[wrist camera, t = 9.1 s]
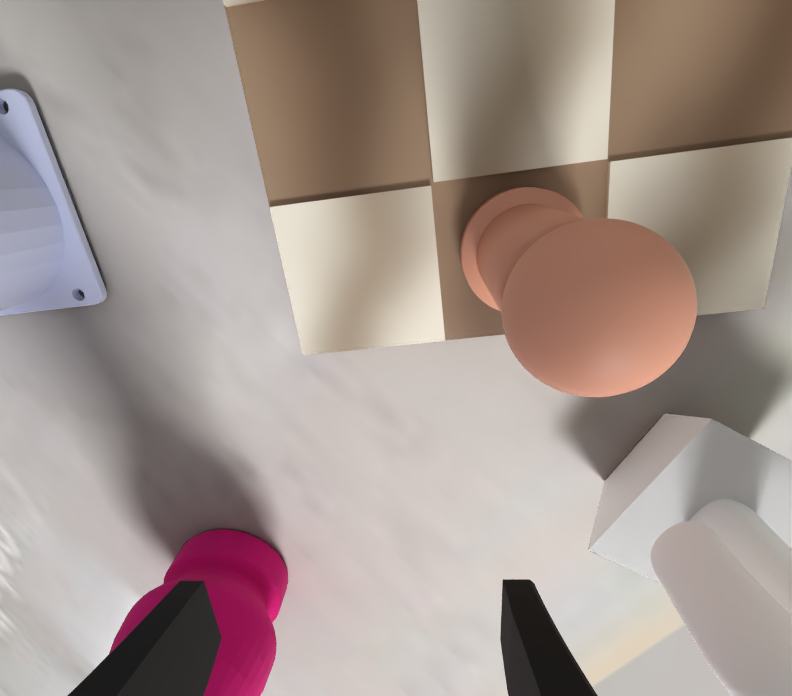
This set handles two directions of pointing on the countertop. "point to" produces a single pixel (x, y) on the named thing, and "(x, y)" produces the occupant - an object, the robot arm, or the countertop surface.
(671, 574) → the figurine
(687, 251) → the board
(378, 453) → the countertop surface
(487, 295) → the pawn
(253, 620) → the pepper mill
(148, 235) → the countertop surface
